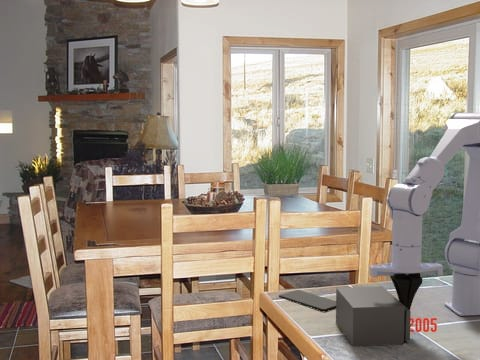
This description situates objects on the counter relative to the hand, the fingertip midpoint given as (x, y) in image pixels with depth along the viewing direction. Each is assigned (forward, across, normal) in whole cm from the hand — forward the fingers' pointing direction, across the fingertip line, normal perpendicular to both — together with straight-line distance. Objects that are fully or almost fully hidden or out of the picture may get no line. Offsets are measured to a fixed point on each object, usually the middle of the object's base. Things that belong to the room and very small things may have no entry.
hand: (404, 310), depth 118 cm
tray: (+4, +6, 0) cm, 7 cm away
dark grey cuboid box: (+4, +8, 0) cm, 9 cm away
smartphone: (+5, +15, -21) cm, 26 cm away
